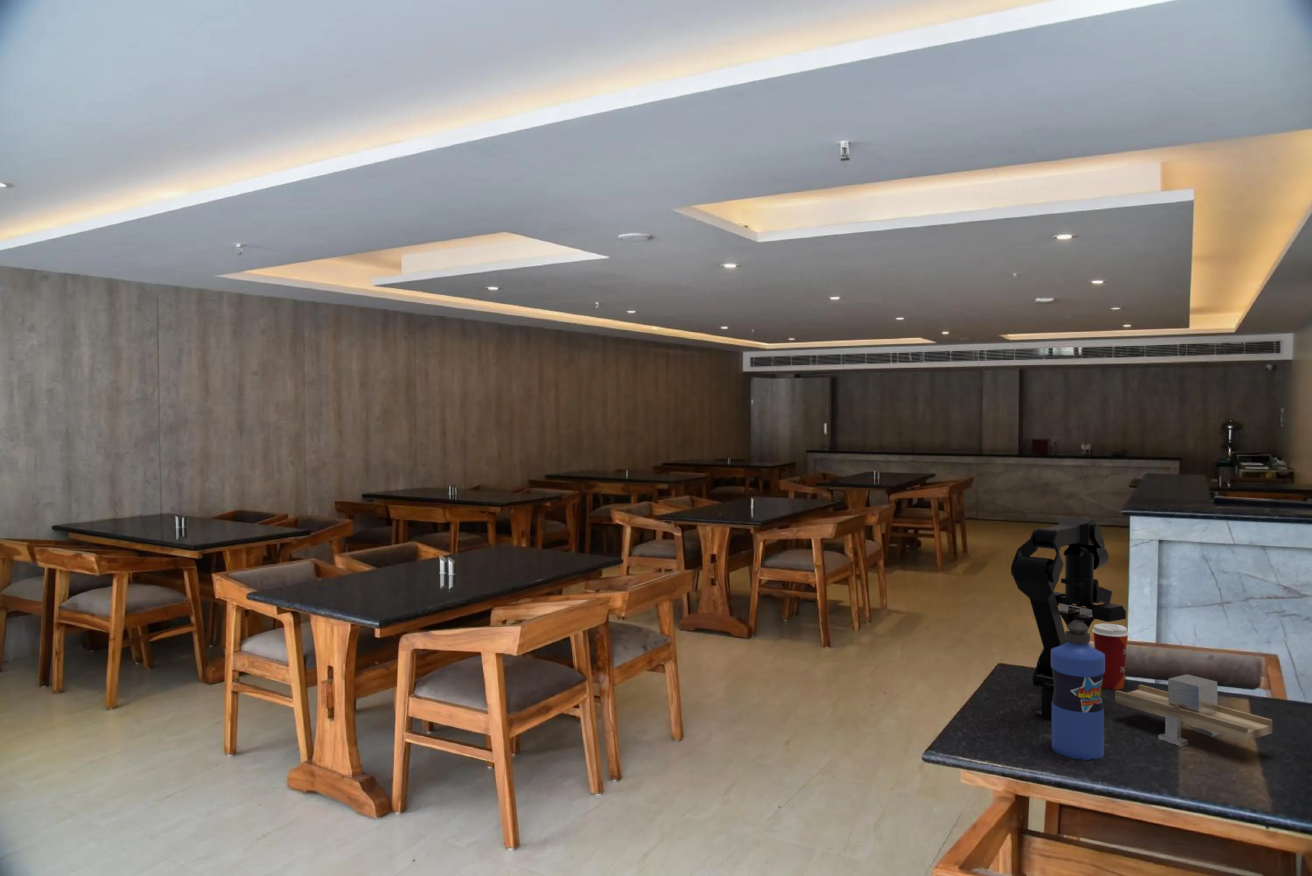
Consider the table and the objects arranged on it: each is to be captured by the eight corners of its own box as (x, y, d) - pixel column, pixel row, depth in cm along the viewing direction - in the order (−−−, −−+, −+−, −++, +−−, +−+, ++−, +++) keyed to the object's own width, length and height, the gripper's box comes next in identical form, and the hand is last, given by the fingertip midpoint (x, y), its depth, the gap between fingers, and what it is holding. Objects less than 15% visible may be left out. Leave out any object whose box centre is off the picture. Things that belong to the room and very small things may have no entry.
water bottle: (1116, 758, 163) (1116, 626, 162) (1070, 762, 161) (1071, 629, 160) (1083, 739, 172) (1083, 614, 171) (1040, 743, 170) (1040, 617, 169)
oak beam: (1245, 745, 158) (1245, 726, 158) (1115, 706, 182) (1114, 689, 182) (1272, 737, 162) (1272, 718, 162) (1141, 699, 186) (1140, 683, 185)
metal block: (1199, 717, 167) (1198, 686, 167) (1168, 708, 173) (1168, 678, 173) (1217, 712, 170) (1217, 681, 170) (1187, 703, 175) (1186, 674, 175)
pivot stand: (1180, 746, 167) (1180, 721, 167) (1158, 739, 171) (1158, 714, 171) (1219, 734, 173) (1219, 710, 173) (1197, 727, 177) (1197, 703, 177)
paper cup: (1135, 690, 200) (1135, 630, 199) (1101, 691, 200) (1101, 631, 200) (1118, 680, 208) (1118, 622, 207) (1085, 680, 208) (1085, 622, 207)
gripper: (1142, 577, 187) (1142, 649, 188) (1067, 564, 204) (1067, 630, 205) (1108, 583, 182) (1108, 656, 183) (1034, 569, 199) (1034, 636, 200)
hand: (1079, 644), depth 193 cm, fingers closed
